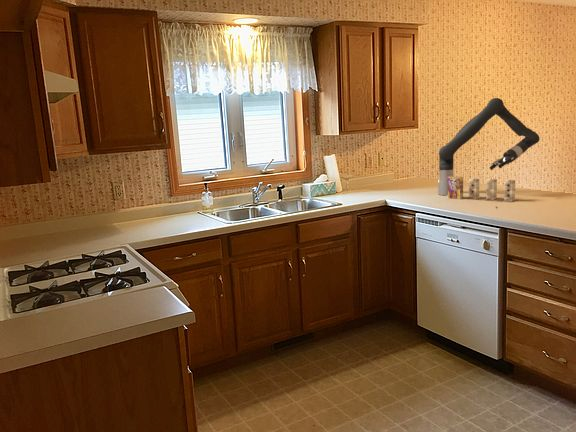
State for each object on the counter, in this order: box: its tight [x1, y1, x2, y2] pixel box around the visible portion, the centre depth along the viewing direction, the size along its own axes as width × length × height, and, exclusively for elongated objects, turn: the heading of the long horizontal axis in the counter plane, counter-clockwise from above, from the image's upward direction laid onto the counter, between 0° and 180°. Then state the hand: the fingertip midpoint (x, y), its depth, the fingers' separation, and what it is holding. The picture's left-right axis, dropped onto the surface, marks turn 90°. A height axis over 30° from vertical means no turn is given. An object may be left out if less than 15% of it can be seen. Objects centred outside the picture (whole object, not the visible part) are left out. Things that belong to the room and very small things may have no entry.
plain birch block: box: [485, 178, 498, 200], centre depth 302 cm, size 4×4×12 cm
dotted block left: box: [468, 177, 480, 199], centre depth 310 cm, size 4×5×12 cm
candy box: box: [447, 175, 464, 200], centre depth 314 cm, size 9×4×15 cm, turn 39°
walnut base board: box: [464, 196, 519, 203], centre depth 303 cm, size 30×10×2 cm, turn 44°
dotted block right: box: [503, 179, 516, 201], centre depth 294 cm, size 4×5×12 cm
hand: (494, 167), depth 308 cm, fingers open, 8 cm apart
